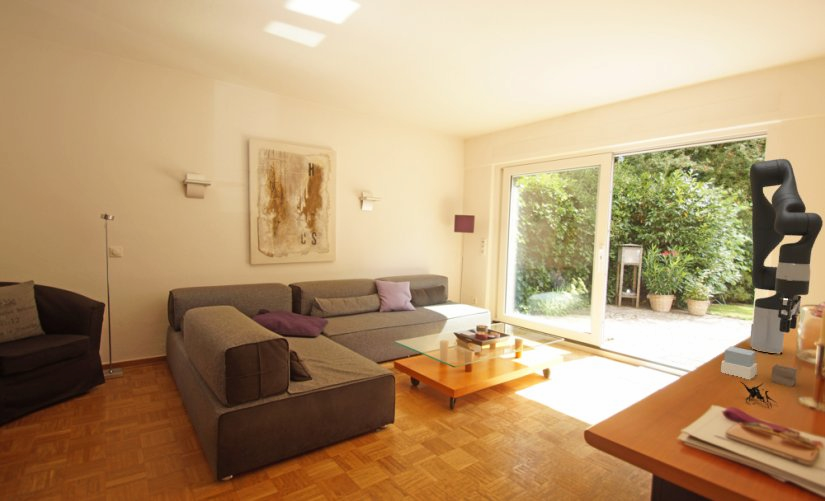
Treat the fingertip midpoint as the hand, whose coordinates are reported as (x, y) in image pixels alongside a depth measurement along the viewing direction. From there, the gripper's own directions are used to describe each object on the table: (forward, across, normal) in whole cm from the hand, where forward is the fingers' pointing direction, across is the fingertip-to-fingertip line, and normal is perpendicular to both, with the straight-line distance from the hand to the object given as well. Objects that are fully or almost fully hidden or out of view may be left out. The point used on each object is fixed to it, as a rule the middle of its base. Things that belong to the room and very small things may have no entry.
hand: (787, 330), depth 123 cm
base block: (+17, +2, -10) cm, 20 cm away
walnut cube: (+17, 0, 0) cm, 17 cm away
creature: (+17, +26, 0) cm, 31 cm away
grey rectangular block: (+13, +2, -10) cm, 17 cm away
